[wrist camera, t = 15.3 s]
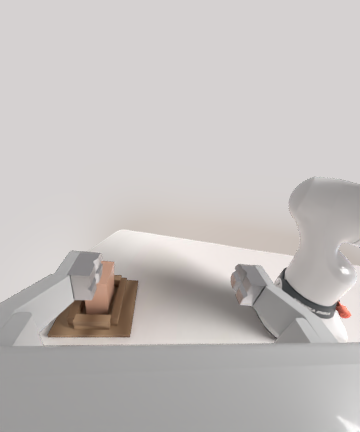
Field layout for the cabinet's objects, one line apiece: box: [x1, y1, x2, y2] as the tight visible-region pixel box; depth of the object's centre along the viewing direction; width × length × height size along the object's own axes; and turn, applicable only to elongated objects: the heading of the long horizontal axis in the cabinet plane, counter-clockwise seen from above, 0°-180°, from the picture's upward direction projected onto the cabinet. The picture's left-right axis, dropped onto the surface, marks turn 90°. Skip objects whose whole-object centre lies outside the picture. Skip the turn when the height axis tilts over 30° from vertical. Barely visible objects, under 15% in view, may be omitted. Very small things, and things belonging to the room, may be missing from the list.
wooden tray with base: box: [48, 275, 138, 337], centre depth 40 cm, size 16×14×4 cm
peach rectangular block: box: [85, 261, 114, 315], centre depth 38 cm, size 4×6×11 cm
